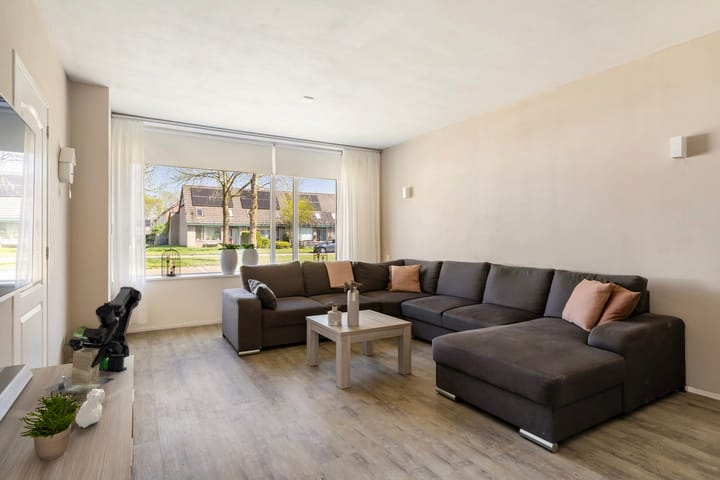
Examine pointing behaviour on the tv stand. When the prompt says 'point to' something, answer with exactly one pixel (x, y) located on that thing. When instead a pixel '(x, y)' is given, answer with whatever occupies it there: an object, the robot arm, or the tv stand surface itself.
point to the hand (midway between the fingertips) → (83, 366)
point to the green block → (103, 364)
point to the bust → (90, 408)
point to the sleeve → (84, 367)
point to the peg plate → (67, 387)
